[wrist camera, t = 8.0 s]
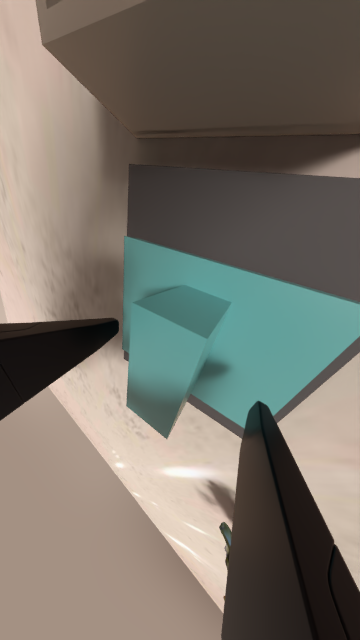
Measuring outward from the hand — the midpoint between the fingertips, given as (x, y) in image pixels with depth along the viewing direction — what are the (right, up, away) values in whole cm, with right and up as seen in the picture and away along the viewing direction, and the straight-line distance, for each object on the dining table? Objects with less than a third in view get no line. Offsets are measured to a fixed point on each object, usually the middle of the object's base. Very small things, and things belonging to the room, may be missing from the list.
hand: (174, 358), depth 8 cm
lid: (+2, +1, +4) cm, 4 cm away
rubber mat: (+2, +2, +4) cm, 5 cm away
